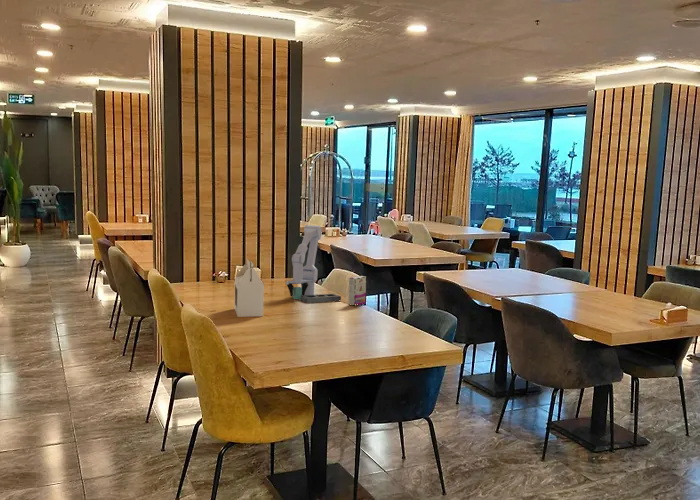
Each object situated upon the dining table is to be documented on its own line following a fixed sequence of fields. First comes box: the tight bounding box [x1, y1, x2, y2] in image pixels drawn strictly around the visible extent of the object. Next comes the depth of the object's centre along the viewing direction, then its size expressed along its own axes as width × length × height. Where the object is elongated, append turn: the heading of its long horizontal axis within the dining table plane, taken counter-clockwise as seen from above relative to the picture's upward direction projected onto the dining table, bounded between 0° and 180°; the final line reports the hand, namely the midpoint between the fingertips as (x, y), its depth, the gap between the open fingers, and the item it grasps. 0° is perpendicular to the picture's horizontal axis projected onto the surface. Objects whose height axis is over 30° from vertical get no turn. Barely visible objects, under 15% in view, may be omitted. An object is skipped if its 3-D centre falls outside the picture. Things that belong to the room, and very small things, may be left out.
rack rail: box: [300, 293, 342, 304], centre depth 379 cm, size 10×22×3 cm, turn 118°
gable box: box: [233, 258, 265, 318], centre depth 337 cm, size 22×13×28 cm, turn 15°
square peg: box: [292, 286, 302, 300], centre depth 383 cm, size 4×4×7 cm
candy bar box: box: [348, 275, 367, 306], centre depth 370 cm, size 11×5×16 cm, turn 143°
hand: (297, 295), depth 383 cm, fingers open, 7 cm apart
